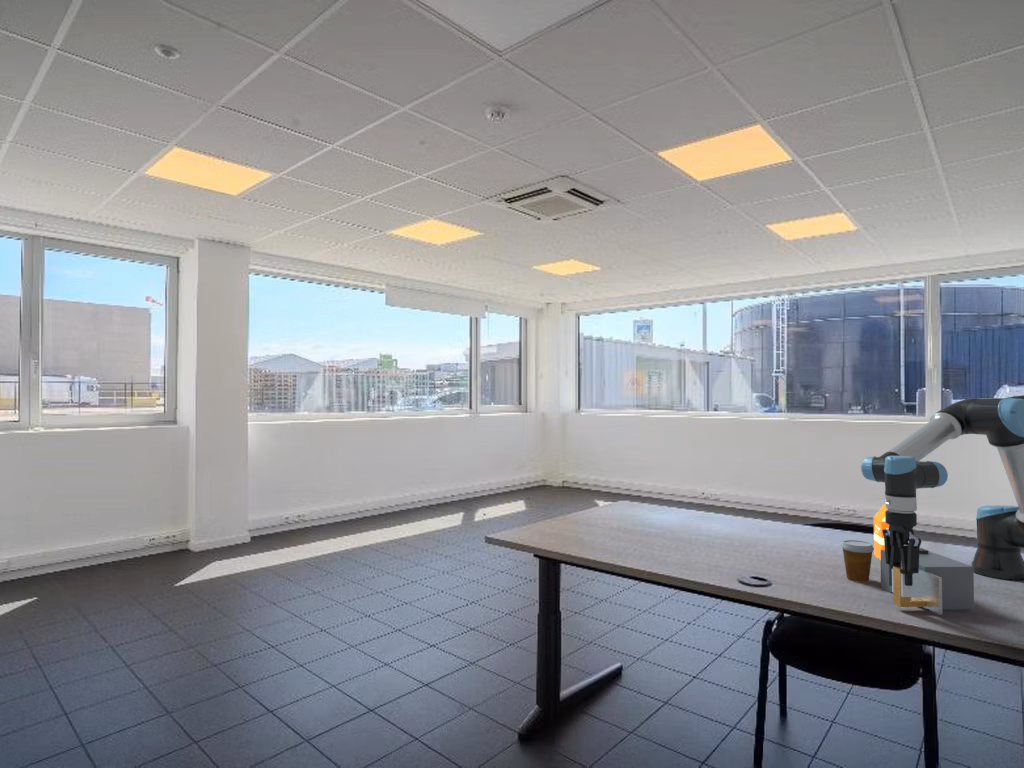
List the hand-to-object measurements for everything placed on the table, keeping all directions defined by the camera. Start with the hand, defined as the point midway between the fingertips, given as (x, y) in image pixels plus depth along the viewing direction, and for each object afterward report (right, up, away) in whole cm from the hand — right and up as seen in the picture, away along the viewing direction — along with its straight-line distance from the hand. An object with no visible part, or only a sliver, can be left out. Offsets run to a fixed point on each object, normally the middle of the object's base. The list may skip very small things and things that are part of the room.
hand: (902, 594), depth 172 cm
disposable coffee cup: (+4, -6, +29) cm, 30 cm away
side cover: (+3, -4, 0) cm, 4 cm away
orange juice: (+31, -6, +55) cm, 63 cm away
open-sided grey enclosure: (+14, -5, +11) cm, 18 cm away
